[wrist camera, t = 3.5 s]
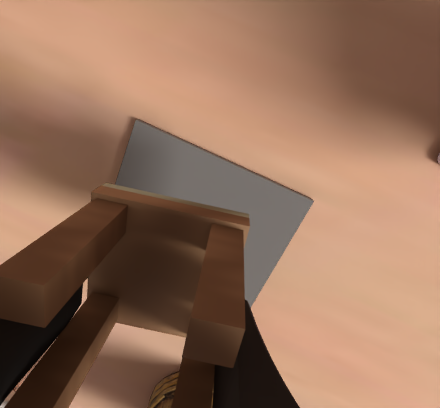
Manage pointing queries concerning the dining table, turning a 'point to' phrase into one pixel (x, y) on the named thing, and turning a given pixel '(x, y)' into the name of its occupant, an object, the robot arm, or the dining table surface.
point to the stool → (132, 288)
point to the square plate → (7, 399)
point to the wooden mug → (165, 393)
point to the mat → (217, 194)
